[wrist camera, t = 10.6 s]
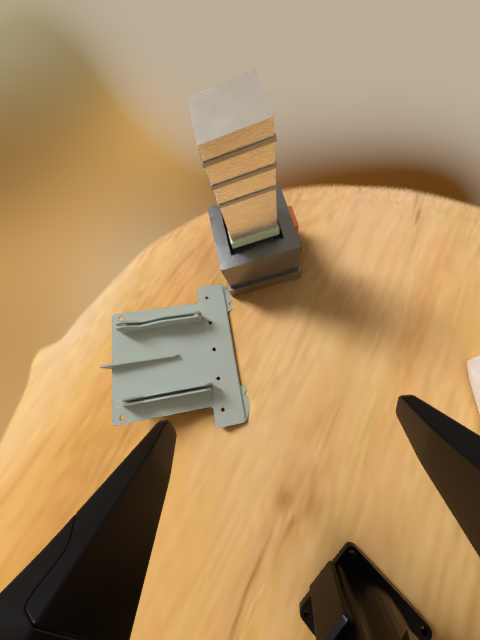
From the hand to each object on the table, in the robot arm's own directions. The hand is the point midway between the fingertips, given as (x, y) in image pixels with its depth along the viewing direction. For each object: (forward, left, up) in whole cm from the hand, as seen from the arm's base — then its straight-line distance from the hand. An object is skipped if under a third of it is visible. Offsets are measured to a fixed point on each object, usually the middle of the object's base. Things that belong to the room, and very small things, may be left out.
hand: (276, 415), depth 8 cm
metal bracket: (+10, +5, -14) cm, 18 cm away
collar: (+12, -10, -13) cm, 20 cm away
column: (+12, -10, -7) cm, 17 cm away
